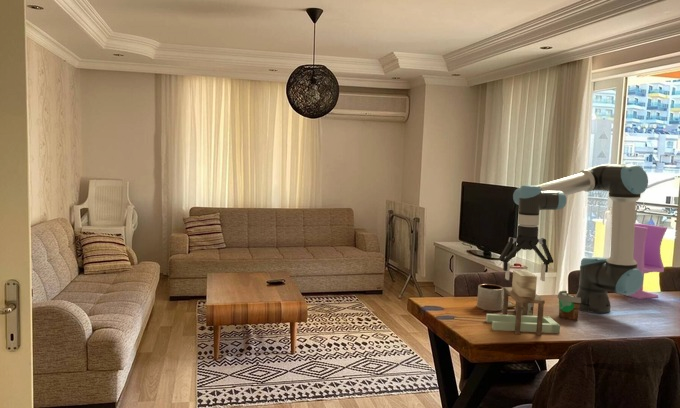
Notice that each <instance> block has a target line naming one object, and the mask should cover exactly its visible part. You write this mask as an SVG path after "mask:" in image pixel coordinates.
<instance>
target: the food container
mask: <svg viewBox="0 0 680 408" xmlns="http://www.w3.org/2000/svg"><path fill="white" fill-rule="evenodd" d="M567 292H568V291H567V290H560V291H559V292H558V293H557V297H556V298H558V317H559V318H561V319H563V320H567V321H573V322H578V320H579V312H580V309H579V306H580V303H581V298H578V297H576V295H574V294H570V293H567Z"/></svg>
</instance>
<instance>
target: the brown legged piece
mask: <svg viewBox="0 0 680 408" xmlns="http://www.w3.org/2000/svg"><path fill="white" fill-rule="evenodd" d="M503 288H504V289H503V290H504V294H503V309H502V314H506V315H508V311H509V310H508V308H509V297H511V298H512V299H513V300H514V301H515V303H516V302H517V307H516V306H515V307H516V310H515V315H516V321H515V331H514V334H515V335H521V331H520V326H521V312H522V315H527V311H528V303H534V304H538V305H537V315H536V316H537V329H536V332H535V335H537V336H542V333H543V332H542V322H543V316H544V310H545V309H544V308H545V307H544V306H545V300H544V298H542V297H541V296H539V295H538V294H537V293H536V296H535V297H519V296H518V295H517V294H516V293H515V292H514V291H512V286H510V287H509V286H508V287H507V286H503ZM522 303H523V311H522Z"/></svg>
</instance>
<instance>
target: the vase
mask: <svg viewBox="0 0 680 408" xmlns="http://www.w3.org/2000/svg"><path fill="white" fill-rule="evenodd" d="M667 229H668V227H667V226H666V227H665V226H662V225H661V226H660V225H653V224H646V223H645V224H644V223H636V222H635V232H634V253H633V259H634V260H635V261H636V262H637V269H639V270H640V271H641V272H642V274H643V281H644V277H645V274H649V273H664V272H665V267H664V263H663V260H662V255H661V245H662V242H663V239H664V236H665V234H666V231H667ZM643 289H644V282H643V283H642V285H641V287H640V289H638V291H637V292H636V293H634V294H632V295H624V294H621V296H622V295H623V296H626V297H629V298H633V299H637V300H645V299H646V298H647V299H654V298H659V294H656V293H652V292H650V291H649V292H648V291H645V290H643ZM614 293H616V292H614ZM616 294H617V293H616Z"/></svg>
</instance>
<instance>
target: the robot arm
mask: <svg viewBox="0 0 680 408" xmlns="http://www.w3.org/2000/svg"><path fill="white" fill-rule="evenodd" d="M648 185H649V178H648V174H647V172H646V170H645V169H644V168H643V167H642V166H639V165H637V164H629V163H623V164H617V163H614V164H613V163H603V164H600V165H597V166H596V165H595V166H592V167H589V168H586V169H583V170H582V169H581V170H580V171H579V172H578V173H577V174H576V173H575V174H573V175H569V176H566V177H562V178H559V179H555V180H552V181H547V182H544V183H542V184H541V183H540V184H537V185H536V184H535V185H532V184H531V185H529V184H527V185H526V184H523V185H521V186H520V187H518V188H516V189H515V190H514V191H513V195H512V199H513V202H514V203H515V205H518V215H517V216H518V217H517V224H518V226H517V232H516V237H511V236H508V240H507V243H506V245H505V247H504V249H503V250H502V252H501V254H500V255H499V256H498V260H499V261H500V262H502V263H503V266H502V267H503V268H502V269H503V271H504V272H505V274H504V275H505V277H504V279H505V280H506V281H510V272H511V271H510V268H511V263H510V261H511V260H512V259H513V258H514V257H515V255H516V254H518V252H519V251H521V250H524V251H526V250H528V251H532V250H533V251H534V252H535V253H536V255H537V256H538V257H539V258H540V260H541V261H542V262H541V264H540V265H541V266H540V281H542V282H545V281H546V273H548V272H549V271H548V270H549V265H550V264H553V263H554V259H553V257H552V256H553V255H552V254H551V252H550V250H549V247H548V245H547V239H546V238H544V237H541V238H539V227H538V226H539V223H540V222H539V221H540V211H545V210H546V211H558V210H562V209H564V208H565V207H566V204H567V196H570V195H573V194H578V193H581V192H586V193H587V192H592V191H605V192H608V197H609V198H610V200H611V201H612V204H611V205H612V208H611V210H612V211H611V213H612V214H611V228H610V229H611V230H610V231H611V232H610V233H611V235H610V256H609V257H600V256H599V257H597V256H596V257H594V256H593V257H592V256H591V257H583V258H582V259H581V260H580V265H579V281H578V283H579V284H578V290H577V293H576V295H575V297H578V298H581V303H580V306H579V311H584V312H589V313H597V314H607V313H611V308H612V305H611V302H610V299H609V298H610V297H609V293H608V291H611V292H614V293H615V292H616V294H619V295H622V294H624V295H623V296H626V295H632V294H634V293H636V292H637V291H638V289H640V287H641V285H642V283H643V284H644V280H643V274H642V272H641V271H640V270H639V269H637V262H636V261H635V260H634V259H633V253H634V232H635V223H636V213H637V212H636V209H637V201H638V200H639V199H641V194H643V193H645V191H646V189H647V188H648ZM515 243H516V245H515V246H514V248H513V249H512V250H511V248H512V246H513V244H515ZM538 244H540V245H541V247H542V249H543V253H545V256H546V257H545V256H544V255H543V253H542V252H541V250H540V249H539V248H538V246H537V245H538ZM510 250H511V251H510ZM509 251H510V252H509Z"/></svg>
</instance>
